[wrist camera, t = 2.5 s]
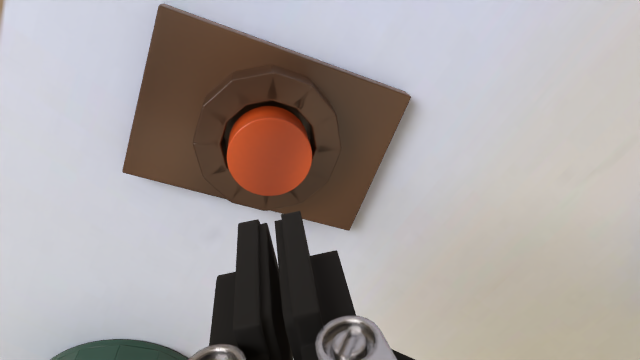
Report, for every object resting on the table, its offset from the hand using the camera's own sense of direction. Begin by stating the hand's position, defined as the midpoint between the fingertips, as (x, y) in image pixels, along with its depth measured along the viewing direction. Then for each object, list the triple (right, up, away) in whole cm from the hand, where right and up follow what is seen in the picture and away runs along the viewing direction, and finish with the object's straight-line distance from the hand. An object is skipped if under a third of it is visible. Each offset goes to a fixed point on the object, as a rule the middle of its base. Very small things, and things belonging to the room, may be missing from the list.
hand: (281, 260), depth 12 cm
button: (-1, +4, +8) cm, 9 cm away
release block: (-2, +5, +10) cm, 11 cm away
